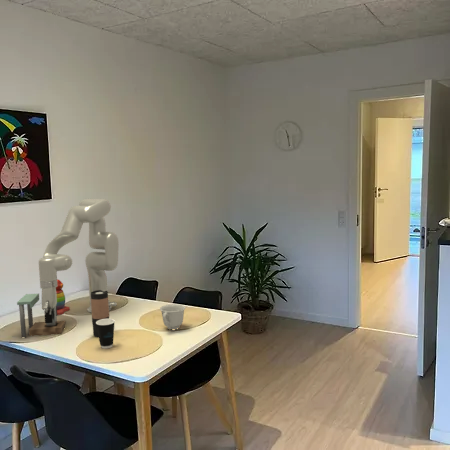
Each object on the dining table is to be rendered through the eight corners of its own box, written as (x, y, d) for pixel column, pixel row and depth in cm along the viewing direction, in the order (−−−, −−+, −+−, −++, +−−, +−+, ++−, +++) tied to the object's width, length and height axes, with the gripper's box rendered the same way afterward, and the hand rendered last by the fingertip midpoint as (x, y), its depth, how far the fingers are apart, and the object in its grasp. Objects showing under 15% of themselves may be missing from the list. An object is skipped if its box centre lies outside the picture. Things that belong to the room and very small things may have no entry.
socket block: (65, 326, 226) (65, 320, 226) (61, 334, 216) (60, 327, 215) (35, 328, 224) (35, 322, 224) (29, 336, 214) (29, 329, 214)
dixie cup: (109, 350, 194) (107, 325, 193) (93, 348, 197) (91, 323, 196) (120, 344, 202) (118, 319, 200) (104, 342, 204) (103, 317, 203)
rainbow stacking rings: (61, 315, 244) (59, 281, 242) (43, 314, 246) (41, 281, 244) (71, 309, 255) (69, 277, 253) (54, 308, 256) (51, 276, 254)
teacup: (152, 333, 214) (151, 312, 213) (167, 323, 228) (167, 303, 227) (176, 336, 210) (175, 314, 209) (190, 325, 224) (189, 305, 222)
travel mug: (94, 338, 208) (92, 295, 206) (91, 333, 215) (88, 291, 213) (112, 335, 212) (109, 292, 210) (108, 330, 219) (105, 289, 216)
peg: (57, 329, 223) (55, 304, 221) (55, 332, 219) (54, 307, 217) (48, 329, 222) (46, 305, 221) (46, 332, 218) (45, 307, 217)
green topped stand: (41, 326, 226) (39, 293, 224) (33, 337, 213) (31, 301, 211) (28, 327, 226) (25, 294, 224) (19, 338, 212) (17, 302, 210)
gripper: (44, 280, 226) (47, 314, 228) (35, 289, 209) (38, 326, 211) (61, 279, 227) (63, 313, 229) (52, 288, 210) (55, 325, 212)
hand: (51, 319), depth 220 cm, fingers open, 9 cm apart
